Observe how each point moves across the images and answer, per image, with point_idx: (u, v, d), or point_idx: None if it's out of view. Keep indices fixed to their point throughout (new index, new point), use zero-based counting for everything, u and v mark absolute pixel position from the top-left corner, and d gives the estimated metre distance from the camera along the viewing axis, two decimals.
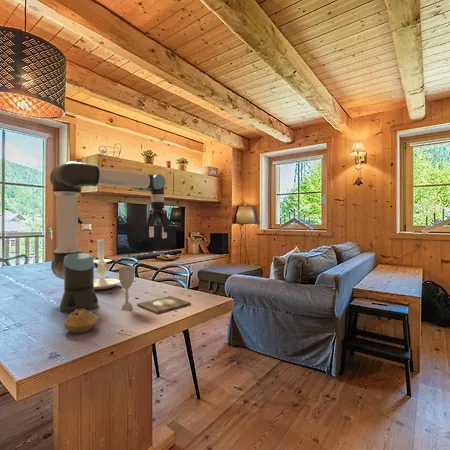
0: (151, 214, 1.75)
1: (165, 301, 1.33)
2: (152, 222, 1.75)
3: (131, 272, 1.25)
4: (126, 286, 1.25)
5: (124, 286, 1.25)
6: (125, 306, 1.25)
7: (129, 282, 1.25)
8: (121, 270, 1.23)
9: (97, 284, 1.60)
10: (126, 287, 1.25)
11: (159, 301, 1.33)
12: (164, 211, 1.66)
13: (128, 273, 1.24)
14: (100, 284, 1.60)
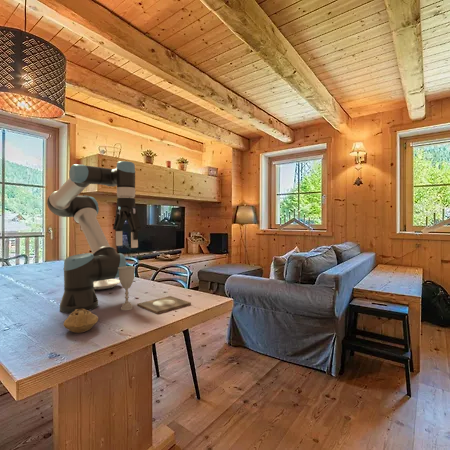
0: (118, 215, 1.29)
1: (165, 301, 1.33)
2: (120, 225, 1.29)
3: (131, 272, 1.25)
4: (126, 286, 1.25)
5: (124, 286, 1.25)
6: (125, 306, 1.25)
7: (129, 282, 1.25)
8: (121, 270, 1.23)
9: (97, 284, 1.60)
10: (126, 287, 1.25)
11: (159, 301, 1.33)
12: (134, 210, 1.21)
13: (128, 273, 1.24)
14: (100, 284, 1.60)
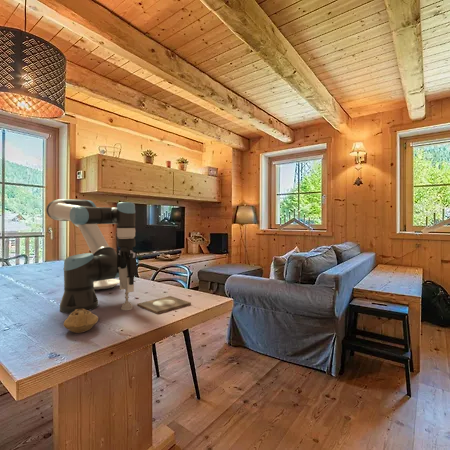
0: (119, 256, 1.29)
1: (165, 301, 1.33)
2: (123, 267, 1.28)
3: None
4: (126, 286, 1.25)
5: (124, 286, 1.25)
6: (125, 306, 1.25)
7: None
8: (121, 270, 1.23)
9: (97, 284, 1.60)
10: (126, 287, 1.25)
11: (159, 301, 1.33)
12: (134, 255, 1.21)
13: None
14: (100, 284, 1.60)
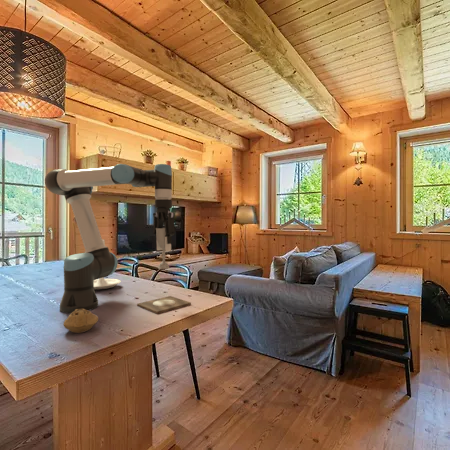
0: (156, 218, 1.33)
1: (165, 301, 1.33)
2: None
3: None
4: (163, 246, 1.29)
5: (162, 246, 1.29)
6: (163, 265, 1.29)
7: None
8: (159, 230, 1.27)
9: (97, 284, 1.60)
10: (163, 247, 1.29)
11: (159, 301, 1.33)
12: (172, 215, 1.25)
13: None
14: (100, 284, 1.60)
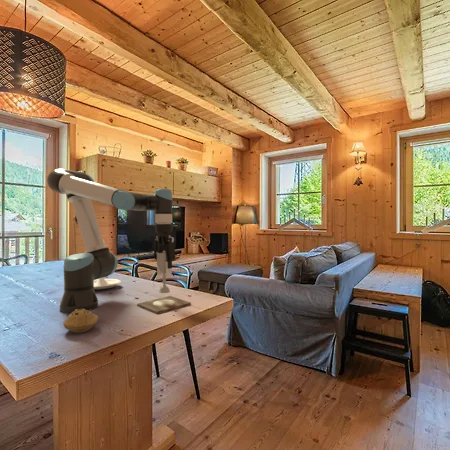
0: (156, 241, 1.33)
1: (165, 301, 1.33)
2: (160, 252, 1.32)
3: None
4: (164, 270, 1.29)
5: (162, 270, 1.29)
6: (163, 289, 1.29)
7: None
8: (160, 254, 1.28)
9: (97, 284, 1.60)
10: (164, 271, 1.29)
11: (159, 301, 1.33)
12: (172, 240, 1.26)
13: None
14: (100, 284, 1.60)
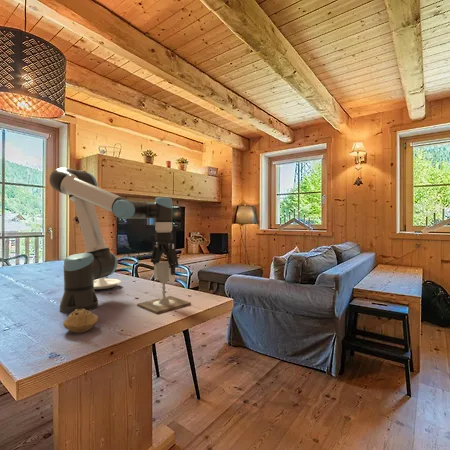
0: (155, 248, 1.34)
1: None
2: (157, 258, 1.34)
3: (168, 267, 1.29)
4: (163, 281, 1.29)
5: (162, 281, 1.29)
6: (163, 300, 1.29)
7: (166, 277, 1.29)
8: (159, 265, 1.28)
9: (97, 284, 1.60)
10: (163, 282, 1.29)
11: None
12: (173, 246, 1.26)
13: (166, 268, 1.28)
14: (100, 284, 1.60)
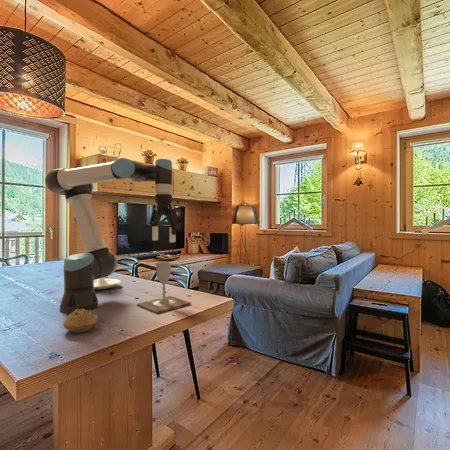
0: (155, 210, 1.34)
1: None
2: (156, 221, 1.34)
3: (168, 268, 1.29)
4: (163, 281, 1.29)
5: (162, 281, 1.29)
6: (163, 300, 1.29)
7: (166, 277, 1.29)
8: (159, 266, 1.28)
9: (97, 284, 1.60)
10: (164, 282, 1.29)
11: None
12: (172, 206, 1.25)
13: (166, 269, 1.28)
14: (100, 284, 1.60)
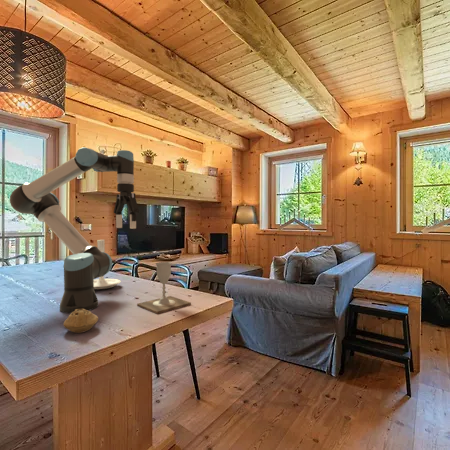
0: (118, 199, 1.42)
1: None
2: (120, 209, 1.42)
3: (169, 267, 1.29)
4: (163, 281, 1.29)
5: (162, 281, 1.29)
6: (163, 300, 1.29)
7: (167, 277, 1.29)
8: (159, 265, 1.28)
9: (97, 284, 1.60)
10: (164, 282, 1.29)
11: None
12: (132, 195, 1.33)
13: (166, 268, 1.28)
14: (100, 284, 1.60)
